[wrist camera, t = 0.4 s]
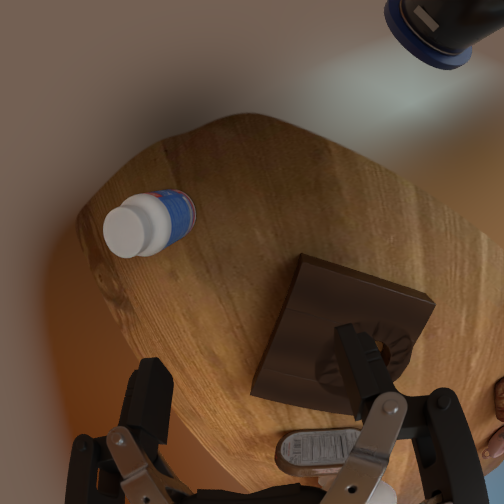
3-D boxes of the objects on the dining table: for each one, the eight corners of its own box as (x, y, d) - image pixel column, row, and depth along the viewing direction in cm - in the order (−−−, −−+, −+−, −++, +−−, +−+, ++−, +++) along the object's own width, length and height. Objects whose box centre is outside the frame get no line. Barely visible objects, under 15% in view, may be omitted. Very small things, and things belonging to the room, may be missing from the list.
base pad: (301, 252, 28) (302, 261, 25) (430, 295, 27) (441, 305, 24) (252, 379, 33) (249, 395, 30) (365, 402, 32) (369, 417, 29)
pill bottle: (186, 180, 27) (138, 185, 18) (204, 229, 28) (165, 255, 19) (144, 199, 28) (88, 213, 19) (161, 244, 29) (111, 274, 20)
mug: (513, 413, 31) (522, 428, 25) (513, 425, 32) (520, 438, 26) (476, 443, 34) (484, 459, 28) (479, 452, 35) (485, 466, 30)
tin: (276, 437, 36) (272, 478, 28) (276, 426, 35) (272, 470, 27) (367, 433, 34) (375, 472, 26) (371, 422, 33) (381, 462, 25)
